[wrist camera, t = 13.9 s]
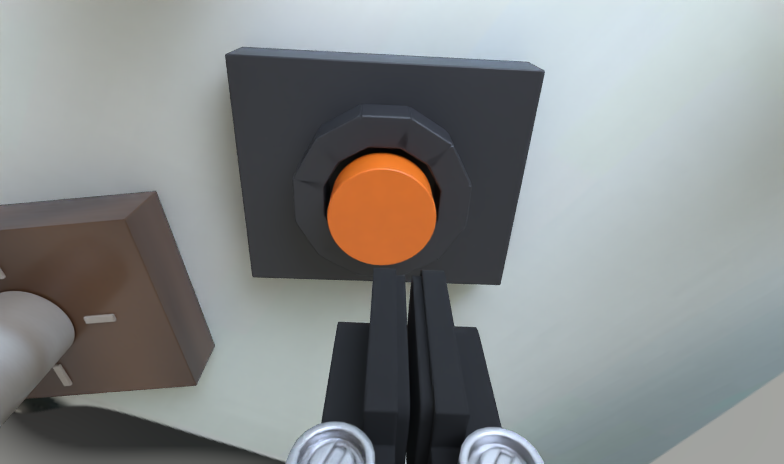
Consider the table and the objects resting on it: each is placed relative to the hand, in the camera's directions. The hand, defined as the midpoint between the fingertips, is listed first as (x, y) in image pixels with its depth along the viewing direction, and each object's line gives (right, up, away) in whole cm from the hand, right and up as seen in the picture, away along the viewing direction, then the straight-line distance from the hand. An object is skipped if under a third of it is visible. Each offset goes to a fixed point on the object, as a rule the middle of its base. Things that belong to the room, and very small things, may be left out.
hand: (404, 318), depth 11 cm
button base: (-1, +5, +10) cm, 11 cm away
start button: (-1, +3, +7) cm, 8 cm away
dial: (-18, -2, +10) cm, 21 cm away
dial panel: (-18, -1, +13) cm, 22 cm away
